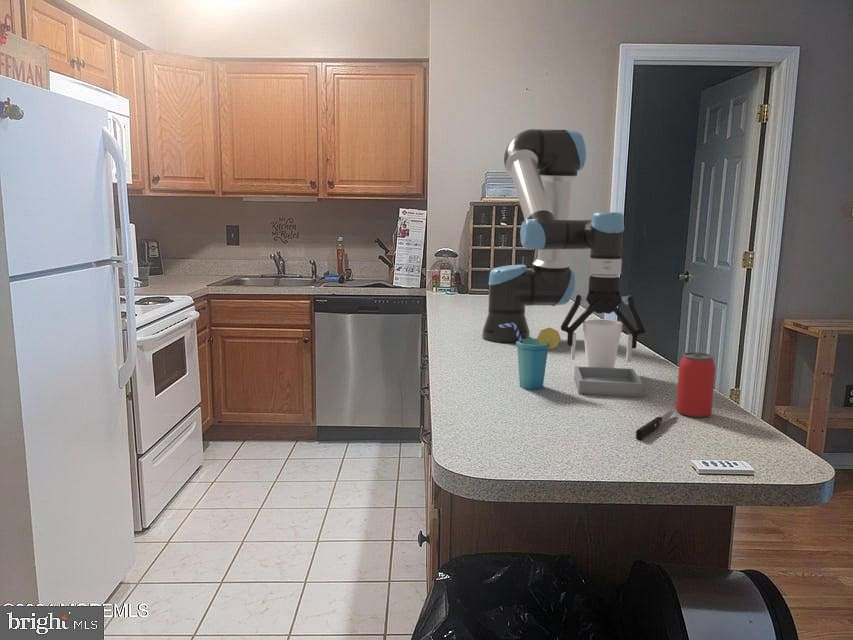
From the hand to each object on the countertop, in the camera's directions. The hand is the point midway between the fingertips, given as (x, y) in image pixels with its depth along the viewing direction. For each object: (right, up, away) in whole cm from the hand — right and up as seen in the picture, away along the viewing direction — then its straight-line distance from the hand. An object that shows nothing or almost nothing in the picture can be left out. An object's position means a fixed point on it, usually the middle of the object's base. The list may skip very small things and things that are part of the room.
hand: (600, 359), depth 155 cm
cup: (-20, -6, -12) cm, 25 cm away
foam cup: (0, -4, +1) cm, 4 cm away
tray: (-2, -6, -13) cm, 14 cm away
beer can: (+10, -9, -31) cm, 34 cm away
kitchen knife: (-1, -10, -39) cm, 41 cm away
